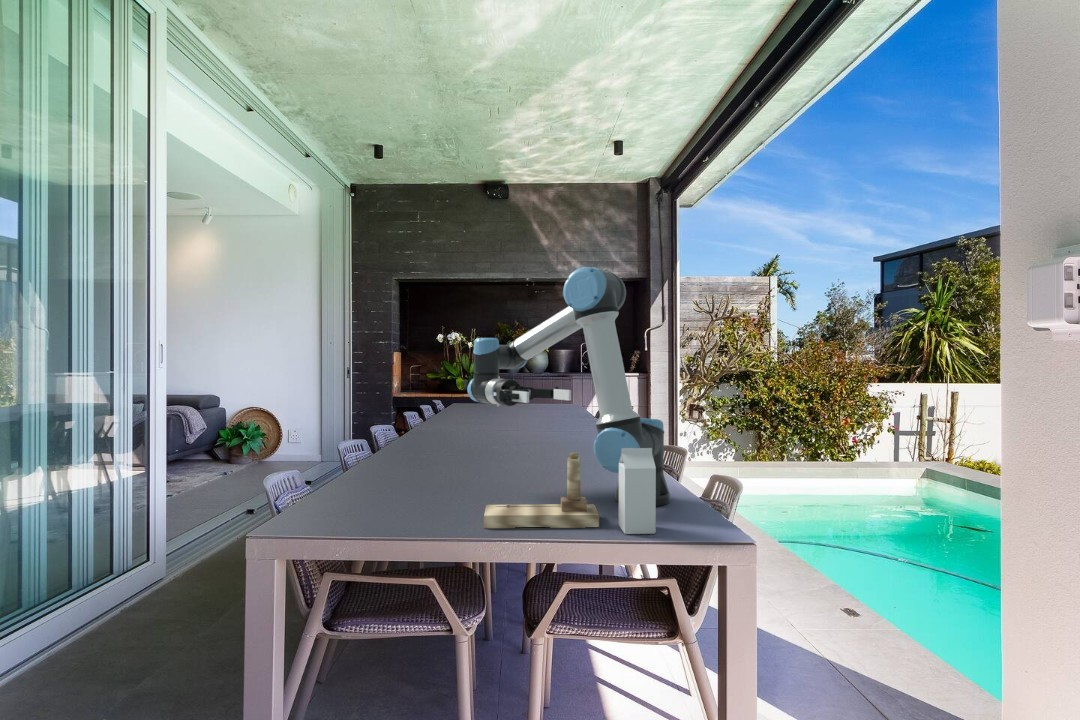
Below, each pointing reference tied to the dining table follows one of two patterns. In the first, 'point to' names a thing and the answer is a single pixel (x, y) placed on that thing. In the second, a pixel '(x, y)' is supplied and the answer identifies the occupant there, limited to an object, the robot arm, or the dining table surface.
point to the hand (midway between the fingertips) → (549, 396)
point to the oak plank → (538, 516)
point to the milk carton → (637, 491)
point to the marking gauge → (573, 487)
